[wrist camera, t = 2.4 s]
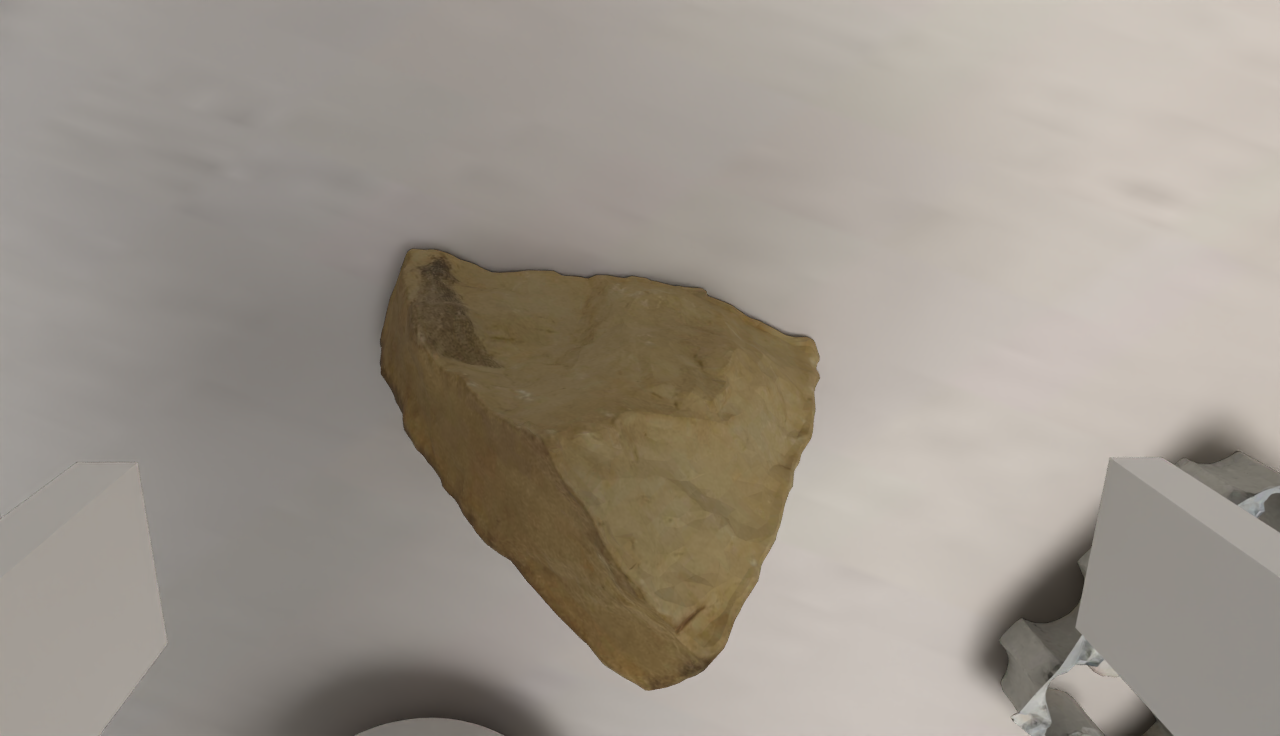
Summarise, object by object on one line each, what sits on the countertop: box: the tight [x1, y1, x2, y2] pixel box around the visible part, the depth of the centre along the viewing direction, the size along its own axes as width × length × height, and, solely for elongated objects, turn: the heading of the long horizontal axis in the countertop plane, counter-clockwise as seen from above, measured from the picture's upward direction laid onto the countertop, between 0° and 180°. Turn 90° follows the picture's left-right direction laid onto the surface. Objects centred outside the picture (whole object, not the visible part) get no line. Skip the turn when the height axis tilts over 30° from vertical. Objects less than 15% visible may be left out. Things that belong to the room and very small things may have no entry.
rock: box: [380, 249, 820, 691], centre depth 20 cm, size 11×9×10 cm
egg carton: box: [1000, 451, 1280, 736], centre depth 26 cm, size 11×8×4 cm
